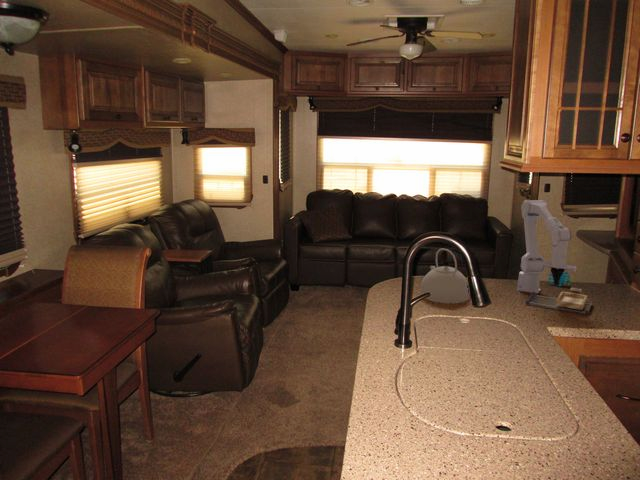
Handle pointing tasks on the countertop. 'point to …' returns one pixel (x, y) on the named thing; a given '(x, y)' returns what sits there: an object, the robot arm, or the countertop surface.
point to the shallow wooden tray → (571, 300)
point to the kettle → (445, 283)
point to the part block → (575, 290)
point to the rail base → (550, 303)
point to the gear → (561, 279)
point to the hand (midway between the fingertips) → (556, 284)
